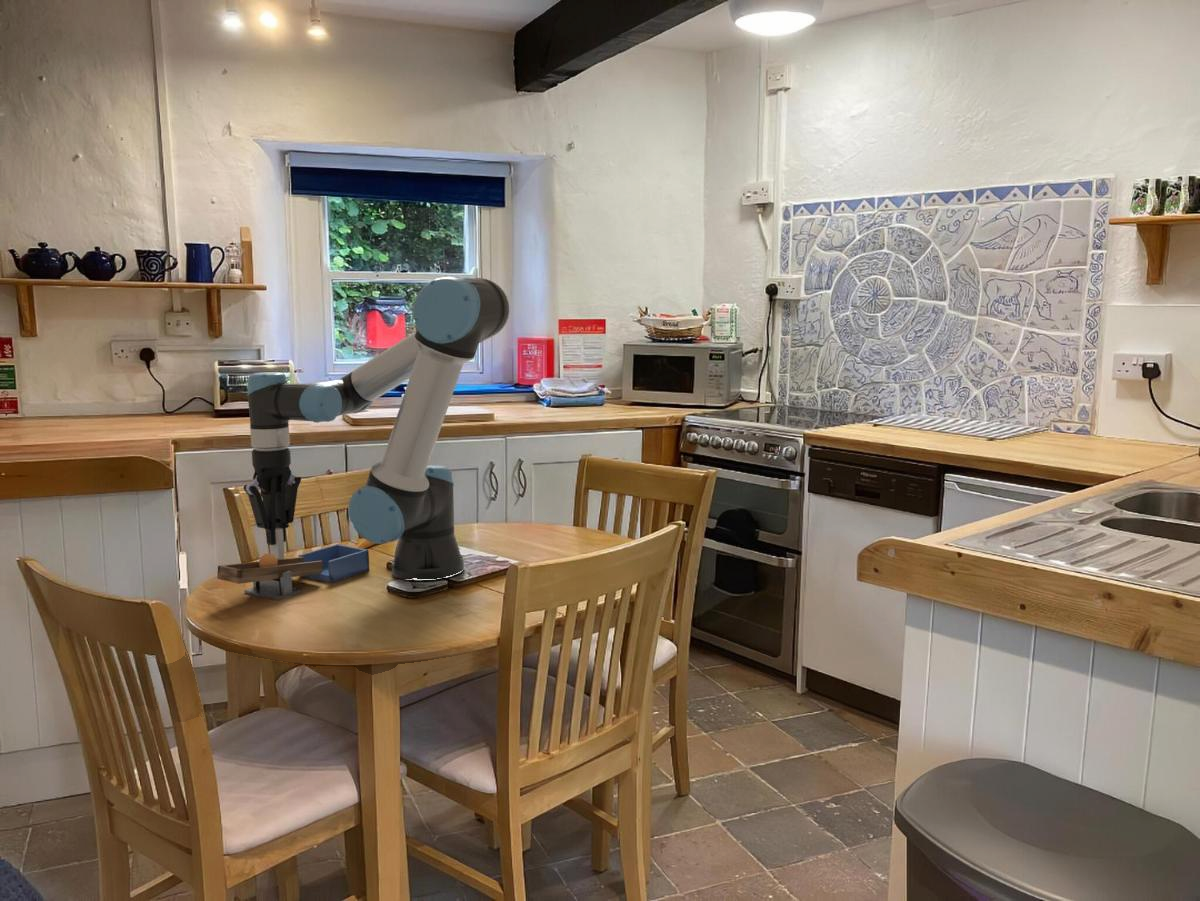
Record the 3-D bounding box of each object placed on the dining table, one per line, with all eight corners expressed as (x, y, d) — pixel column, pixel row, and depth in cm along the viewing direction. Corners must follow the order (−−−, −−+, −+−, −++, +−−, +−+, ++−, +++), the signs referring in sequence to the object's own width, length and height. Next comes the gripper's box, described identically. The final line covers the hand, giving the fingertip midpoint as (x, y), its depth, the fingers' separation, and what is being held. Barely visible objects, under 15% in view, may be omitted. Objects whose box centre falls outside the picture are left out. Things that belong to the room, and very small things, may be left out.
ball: (271, 552, 185) (263, 568, 184) (284, 559, 188) (276, 575, 186) (260, 549, 187) (252, 566, 186) (272, 556, 190) (264, 572, 188)
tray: (369, 570, 203) (368, 549, 203) (331, 582, 194) (330, 561, 194) (338, 563, 208) (337, 544, 208) (299, 575, 200) (298, 555, 199)
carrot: (387, 537, 235) (379, 521, 234) (402, 531, 233) (394, 515, 233) (344, 567, 216) (336, 549, 216) (360, 561, 215) (351, 543, 214)
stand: (301, 592, 188) (299, 569, 187) (276, 600, 183) (274, 576, 182) (269, 585, 193) (268, 562, 192) (244, 592, 188) (242, 569, 187)
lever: (321, 573, 194) (322, 561, 194) (238, 583, 177) (239, 570, 177) (278, 563, 202) (278, 552, 201) (194, 573, 185) (194, 560, 185)
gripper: (284, 442, 202) (290, 549, 206) (232, 450, 191) (239, 563, 195) (308, 445, 198) (314, 554, 202) (256, 453, 187) (263, 568, 191)
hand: (277, 558), depth 198 cm, fingers closed
